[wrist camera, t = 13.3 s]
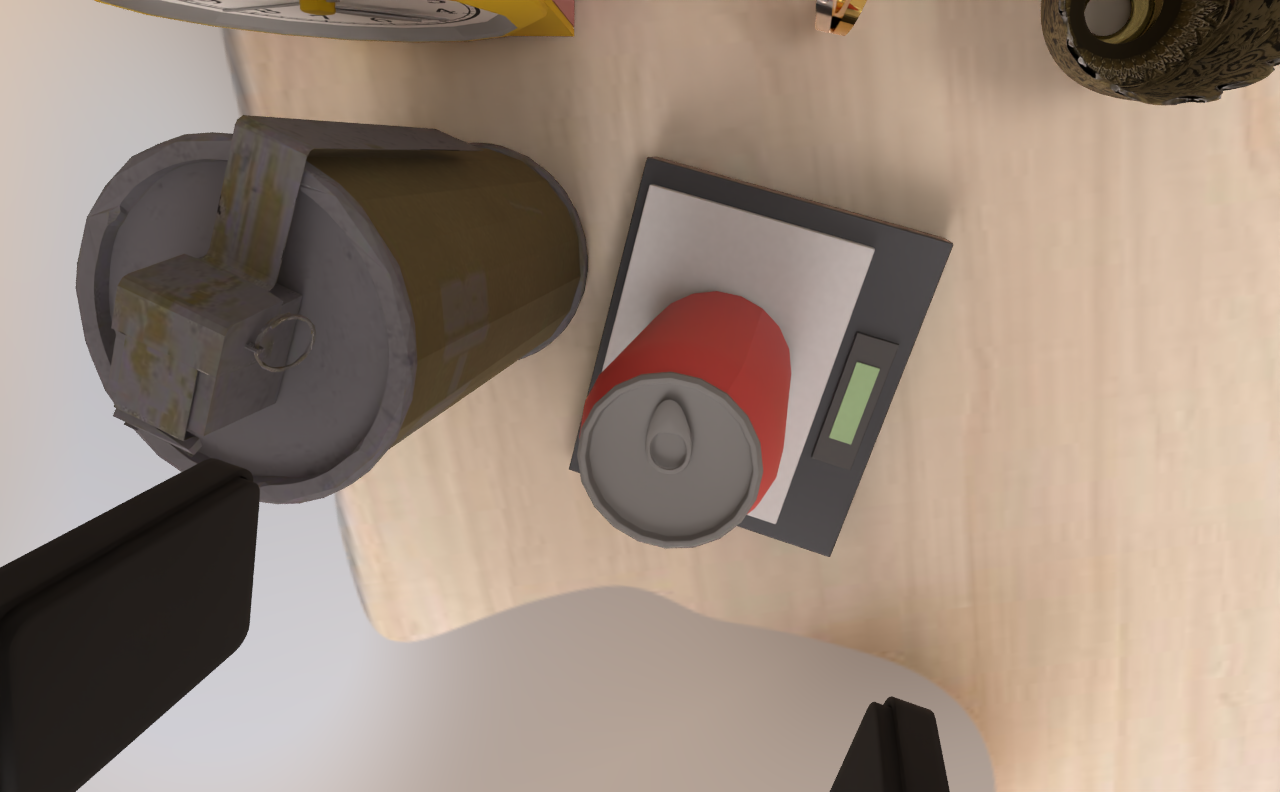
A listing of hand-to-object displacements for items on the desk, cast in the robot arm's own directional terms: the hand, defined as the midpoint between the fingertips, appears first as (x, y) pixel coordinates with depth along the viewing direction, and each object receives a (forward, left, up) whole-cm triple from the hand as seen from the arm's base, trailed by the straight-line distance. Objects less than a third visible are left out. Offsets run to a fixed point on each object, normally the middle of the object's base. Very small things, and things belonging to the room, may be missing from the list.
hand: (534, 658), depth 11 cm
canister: (+1, -12, -27) cm, 29 cm away
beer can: (+2, 0, -24) cm, 24 cm away
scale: (+2, +1, -27) cm, 27 cm away
